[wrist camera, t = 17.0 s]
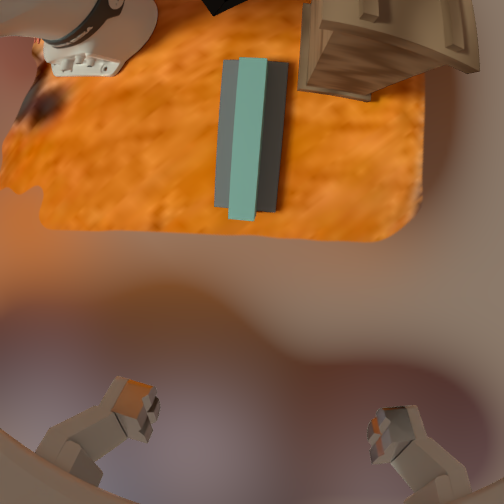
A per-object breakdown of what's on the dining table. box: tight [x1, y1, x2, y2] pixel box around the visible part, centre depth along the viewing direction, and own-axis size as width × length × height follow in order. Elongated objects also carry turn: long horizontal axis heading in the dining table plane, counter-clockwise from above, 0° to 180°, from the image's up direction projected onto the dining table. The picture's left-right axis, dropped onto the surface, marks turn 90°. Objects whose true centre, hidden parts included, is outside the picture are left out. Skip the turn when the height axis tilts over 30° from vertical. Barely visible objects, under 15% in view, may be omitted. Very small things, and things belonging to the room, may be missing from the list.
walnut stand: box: [297, 0, 480, 102], centre depth 19 cm, size 10×14×28 cm
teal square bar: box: [228, 57, 268, 221], centre depth 36 cm, size 4×22×4 cm, turn 176°
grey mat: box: [214, 60, 288, 212], centre depth 38 cm, size 9×22×1 cm, turn 176°
